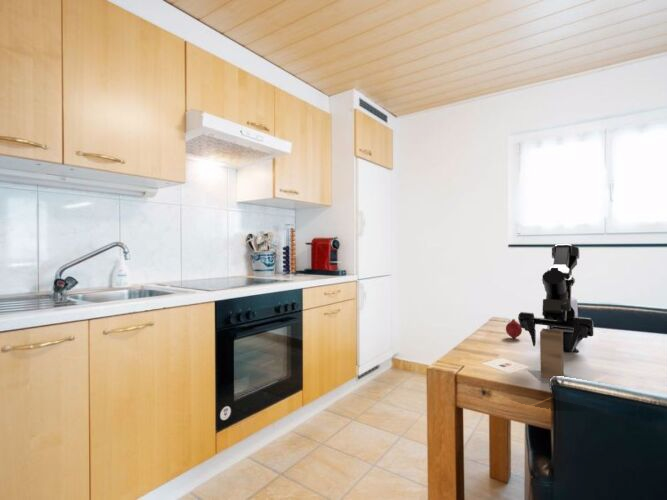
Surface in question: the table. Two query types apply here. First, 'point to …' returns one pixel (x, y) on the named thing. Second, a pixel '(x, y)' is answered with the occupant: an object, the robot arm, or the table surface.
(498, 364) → the tile
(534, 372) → the grey pad
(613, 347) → the table surface
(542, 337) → the walnut post
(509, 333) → the onion
